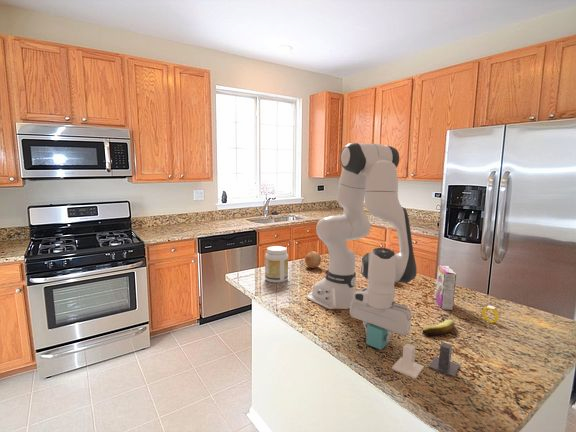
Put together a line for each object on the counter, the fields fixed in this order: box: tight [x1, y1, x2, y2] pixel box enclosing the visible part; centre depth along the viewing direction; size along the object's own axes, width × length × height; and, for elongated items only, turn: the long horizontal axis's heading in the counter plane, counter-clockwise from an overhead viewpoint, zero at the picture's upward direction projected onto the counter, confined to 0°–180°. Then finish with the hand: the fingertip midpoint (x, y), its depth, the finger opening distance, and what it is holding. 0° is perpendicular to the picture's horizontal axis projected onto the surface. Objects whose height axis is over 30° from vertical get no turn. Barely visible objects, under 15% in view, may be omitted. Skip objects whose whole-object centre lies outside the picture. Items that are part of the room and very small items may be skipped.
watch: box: [481, 305, 499, 324], centre depth 127 cm, size 6×3×6 cm, turn 18°
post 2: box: [428, 341, 461, 378], centre depth 96 cm, size 7×7×7 cm
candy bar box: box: [435, 264, 457, 311], centre depth 141 cm, size 11×5×16 cm, turn 168°
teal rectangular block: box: [365, 323, 389, 351], centre depth 108 cm, size 5×5×7 cm
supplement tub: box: [264, 245, 289, 284], centre depth 170 cm, size 12×12×17 cm
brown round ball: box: [304, 250, 322, 269], centre depth 192 cm, size 10×10×10 cm
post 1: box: [391, 342, 425, 380], centre depth 95 cm, size 7×7×7 cm
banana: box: [415, 317, 483, 344], centre depth 120 cm, size 35×27×4 cm
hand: (377, 337), depth 108 cm, fingers closed on teal rectangular block, 5 cm apart
